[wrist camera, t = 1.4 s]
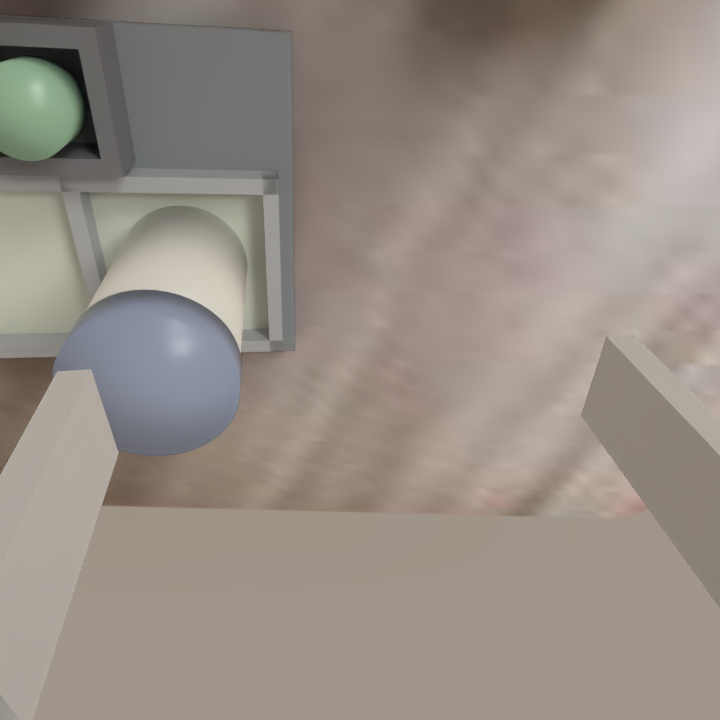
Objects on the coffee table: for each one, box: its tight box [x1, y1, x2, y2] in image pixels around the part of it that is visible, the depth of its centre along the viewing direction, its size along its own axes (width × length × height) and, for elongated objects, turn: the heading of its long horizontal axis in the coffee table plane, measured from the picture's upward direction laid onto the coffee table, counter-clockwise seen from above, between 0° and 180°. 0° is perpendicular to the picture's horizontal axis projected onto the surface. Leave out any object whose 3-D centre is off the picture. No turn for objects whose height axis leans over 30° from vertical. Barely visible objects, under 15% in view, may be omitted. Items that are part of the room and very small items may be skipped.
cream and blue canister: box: [52, 205, 248, 456], centre depth 26 cm, size 7×7×12 cm
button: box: [0, 55, 88, 161], centre depth 23 cm, size 4×4×3 cm
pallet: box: [0, 14, 295, 358], centre depth 28 cm, size 18×22×4 cm
